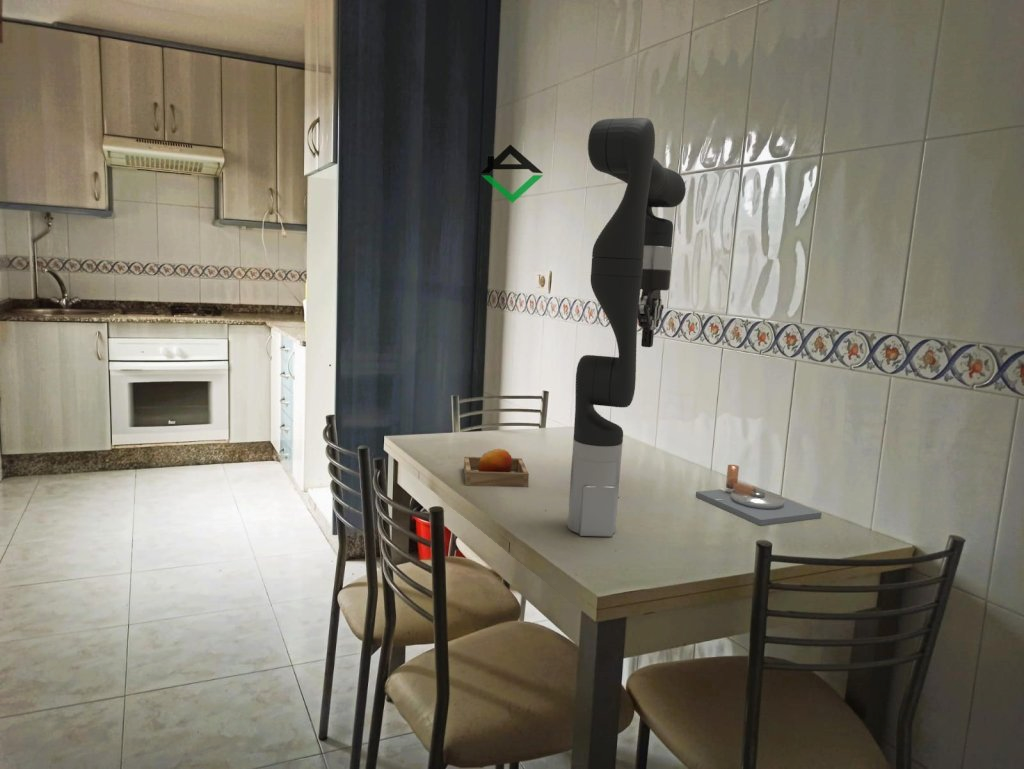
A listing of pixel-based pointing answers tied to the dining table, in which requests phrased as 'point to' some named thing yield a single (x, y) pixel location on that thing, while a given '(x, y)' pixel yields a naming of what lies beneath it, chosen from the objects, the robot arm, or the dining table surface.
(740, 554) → the dining table surface
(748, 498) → the silver and copper crank
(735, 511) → the plate
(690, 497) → the dining table surface
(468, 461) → the wooden tray
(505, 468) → the fruit
